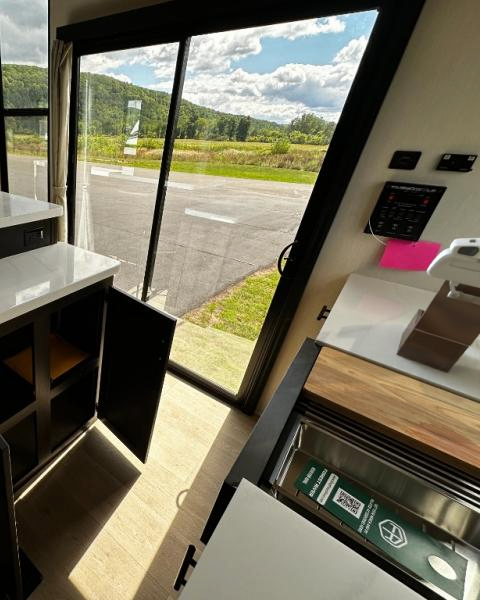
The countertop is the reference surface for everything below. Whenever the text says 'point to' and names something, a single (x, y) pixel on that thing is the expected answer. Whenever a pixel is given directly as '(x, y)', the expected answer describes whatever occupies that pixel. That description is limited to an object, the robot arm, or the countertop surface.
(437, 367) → the chest
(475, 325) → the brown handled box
